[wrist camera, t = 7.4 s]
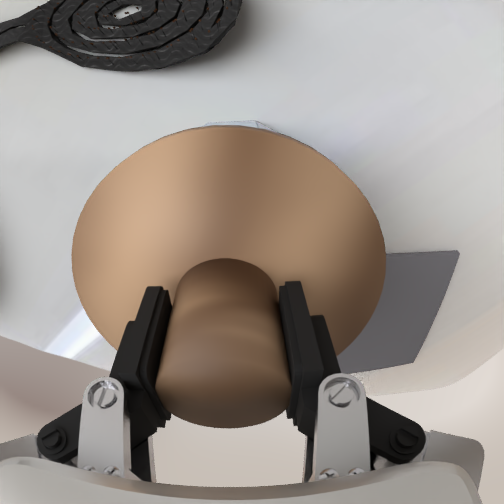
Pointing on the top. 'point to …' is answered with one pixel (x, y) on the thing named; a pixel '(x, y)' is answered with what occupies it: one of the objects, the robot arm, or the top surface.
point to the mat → (401, 311)
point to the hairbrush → (124, 30)
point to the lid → (227, 261)
